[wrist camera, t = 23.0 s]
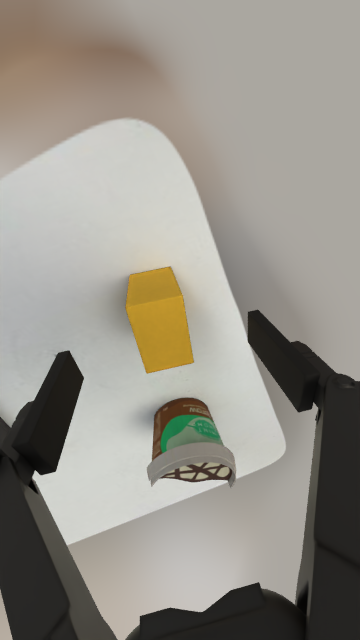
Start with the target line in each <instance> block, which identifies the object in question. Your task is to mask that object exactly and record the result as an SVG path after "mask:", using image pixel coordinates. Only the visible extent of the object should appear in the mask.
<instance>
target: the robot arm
mask: <svg viewBox="0 0 360 640" xmlns="http://www.w3.org/2000/svg"><path fill="white" fill-rule="evenodd" d="M248 343H249V344H250V345H251V347H252V348H253V350H254V351H255V352H256V354H257V355H258V357H259V358H260V359H261V361H262V362H263V364H264V365H265V366H266V368H267V369H268V371H269V372H270V373H271V375H272V376H273V378H274V379H275V380H276V382H277V383H278V385H279V386H280V387H281V389H282V390H283V392H284V393H285V394H286V396H287V397H288V398H289V400H290V401H291V403H292V404H293V406H294V407H295V409H296V410H297V411H298V412H302V411H306V410H310V409H312V406H313V402H314V403H315V404H316V406H317V407H318V412H317V415H316V419H315V420H316V430H315V439H314V449H313V458H312V467H311V476H310V486H309V495H308V504H307V513H306V523H305V532H304V541H303V551H302V559H301V565H300V570H299V576H298V583H297V591H296V600H295V605H294V604H293V603H292V602H291V601H289V600H288V599H286V598H285V597H284V596H282V595H280V594H278V593H276V592H273V591H270V590H267V589H261V587H260V584H259V582H258V583H255V584H251V585H248V586H245V587H241V588H237V589H234V590H231V591H229V592H228V593H227V594H226V595H224V596H223V597H222V598H220V599H219V600H218V601H217V602H215V603H214V604H213V605H212V606H210V607H209V608H208V609H207V610H205V611H203V612H194V611H188V610H181V609H175V608H167V609H164V610H160V611H157V612H153V613H150V614H146V615H142V616H140V625H139V626H137V627H136V628H135V629H134V630H133V631H132V632H131V633H130V634H129V635H128V637H127V638H126V640H360V381H355V380H354V379H352V378H351V377H349V376H346V375H343V374H337V373H336V372H334V370H333V369H331V368H330V367H329V366H328V365H327V364H326V363H325V362H324V361H323V360H322V359H321V358H320V357H319V356H317V355H316V354H315V353H314V352H312V350H311V349H310V348H309V347H308V346H307V345H305V344H303V343H301V342H299V341H295V342H291V343H290V342H289V341H288V340H287V339H286V338H285V337H284V336H283V335H282V334H281V333H280V332H279V331H278V330H277V328H275V326H274V325H273V324H272V323H271V322H269V321H268V319H267V318H266V317H265V316H264V315H263V314H262V313H260V311H259V310H255V311H250V312H248ZM83 380H84V377H83V375H82V373H81V371H80V370H79V368H78V366H77V364H76V362H75V360H74V358H73V357H72V355H71V353H70V351H64V352H60V353H58V354H57V356H56V358H55V360H54V362H53V364H52V366H51V368H50V370H49V372H48V374H47V376H46V378H45V380H44V382H43V384H42V386H41V388H40V390H39V392H38V394H37V396H36V398H35V400H34V401H32V402H28V403H27V404H26V405H25V406H24V407H23V408H22V409H21V410H20V412H19V414H18V415H17V417H16V421H14V423H13V425H12V428H10V430H9V432H8V434H7V436H6V437H5V439H4V441H3V443H2V445H1V447H0V589H1V593H2V598H3V602H4V606H5V610H6V614H7V618H8V622H9V626H10V630H11V634H12V638H13V640H117V638H116V636H115V635H114V633H113V631H112V630H111V628H110V627H109V625H108V624H107V623H106V622H105V621H104V619H103V617H102V616H101V614H100V612H99V610H98V608H97V606H96V604H95V602H94V600H93V598H92V596H91V594H90V592H89V590H88V588H87V586H86V584H85V582H84V580H83V578H82V576H81V574H80V572H79V570H78V568H77V566H76V564H75V562H74V560H73V557H72V555H71V554H70V551H69V549H68V547H67V545H66V543H65V541H64V539H63V537H62V535H61V533H60V531H59V529H58V527H57V525H56V523H55V521H54V519H53V517H52V515H51V513H50V511H49V509H48V507H47V505H46V502H45V500H44V498H43V496H42V494H41V492H40V490H39V488H38V486H37V484H36V482H35V481H34V480H33V479H32V476H33V474H34V471H35V470H36V471H37V472H38V473H39V474H40V475H44V474H48V473H52V472H56V469H57V466H58V462H59V459H60V456H61V453H62V449H63V446H64V443H65V439H66V436H67V433H68V429H69V426H70V423H71V419H72V416H73V413H74V409H75V406H76V403H77V399H78V396H79V393H80V390H81V386H82V383H83Z"/></svg>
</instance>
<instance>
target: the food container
mask: <svg viewBox="0 0 360 640" xmlns="http://www.w3.org/2000/svg"><path fill="white" fill-rule="evenodd" d="M147 473H148V478H149V481H150V480H151V487H152V486H153V485H154V483H155V482H156V481H157V480H158V479H160V478H172V479H179V480H183V481H188V482H200V481H205V480H228V482H229V485H230V488H231V487H232V486H233V485H234V483H235V480H236V467H235V460H234V456H233V453H232V452H231V451H230V450H229V449H228V448H226V447H224V445H223V442H222V440H221V438H220V435H219V433H218V431H217V428H216V426H215V424H214V421H213V419H212V417H211V414H210V412H209V410H208V407H207V406H206V405H205V404H204V403H203V402H202V401H200V400H198V399H194V398H180V399H176V400H173V401H170V402H168V403H166V404H165V405H163V406H162V407H161V408H160V409H159V410H158V411H157V412H156V414H155V415H154V433H153V452H152V462H151V463H150V464H149V465H148V467H147Z"/></svg>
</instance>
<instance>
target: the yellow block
mask: <svg viewBox="0 0 360 640" xmlns="http://www.w3.org/2000/svg"><path fill="white" fill-rule="evenodd" d="M125 309H126V312H127V315H128V318H129V321H130V324H131V327H132V330H133V333H134V336H135V339H136V342H137V345H138V349H139V352H140V355H141V358H142V361H143V364H144V367H145V370H146V373H152V372H156V371H160V370H165V369H169V368H173V367H178V366H182V365H186V364H191V363H194V360H193V354H192V348H191V342H190V336H189V330H188V324H187V318H186V312H185V306H184V300H183V295H182V293H181V291H180V288H179V286H178V283H177V281H176V279H175V276H174V274H173V271H172V269H171V267H166V268H161V269H156V270H151V271H146V272H142V273H137V274H132V275H130V277H129V285H128V292H127V300H126V307H125Z"/></svg>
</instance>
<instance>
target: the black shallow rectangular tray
mask: <svg viewBox="0 0 360 640" xmlns="http://www.w3.org/2000/svg"><path fill="white" fill-rule="evenodd" d="M9 430H10V427H9V426H8V425H7V424H6V423H5V422H4V421H3V420H2V419H1V417H0V447H1V445H2V443H3V441H4V439H5V437H6V436H7V434H8V432H9Z"/></svg>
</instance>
